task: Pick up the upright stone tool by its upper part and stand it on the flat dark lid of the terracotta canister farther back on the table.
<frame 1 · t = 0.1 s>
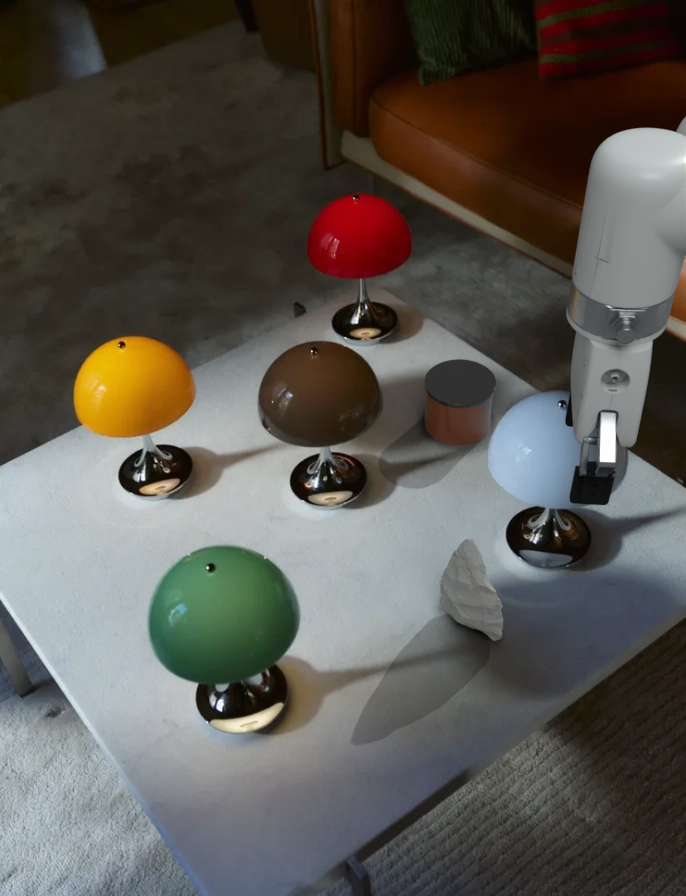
hand: (585, 462, 84), 30 cm above the table, tool pointing down, fingers open, 9 cm apart
stone tool: (469, 628, 109), on the table
canister: (457, 423, 133), on the table
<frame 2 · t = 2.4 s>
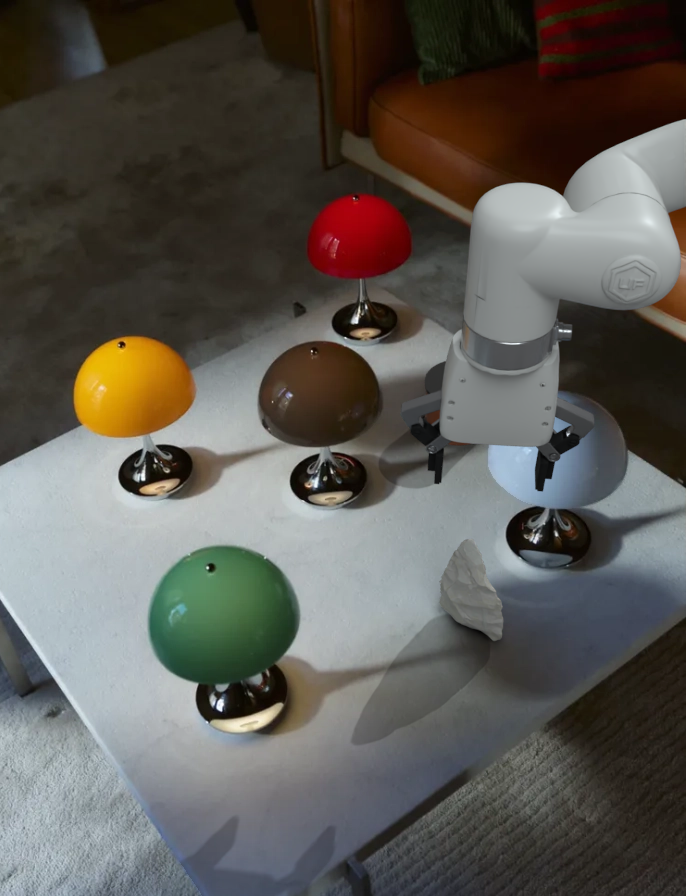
hand: (488, 477, 92), 24 cm above the table, tool pointing down, fingers open, 9 cm apart
nothing on the table moved.
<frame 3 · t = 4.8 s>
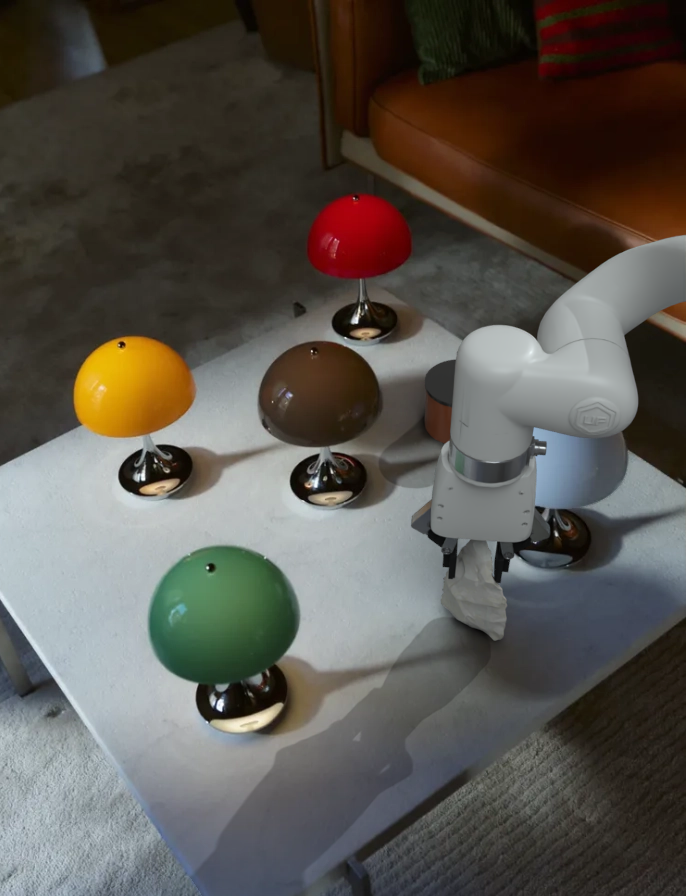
hand: (474, 569, 102), 10 cm above the table, tool pointing down, fingers closed on stone tool, 4 cm apart
stone tool: (469, 627, 109), on the table, touching gripper
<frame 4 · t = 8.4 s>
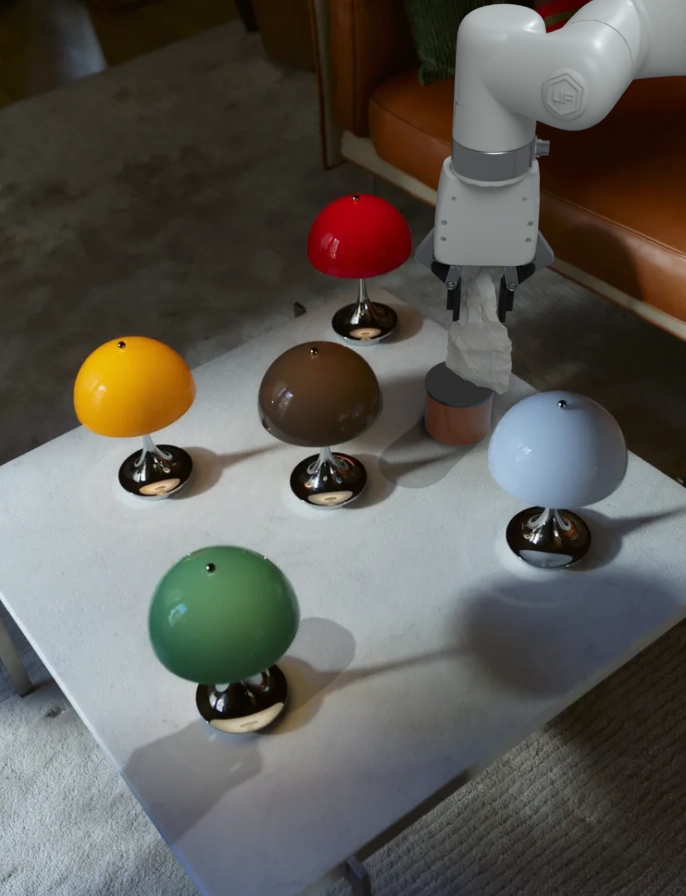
hand: (478, 313, 102), 29 cm above the table, tool pointing down, fingers closed on stone tool, 4 cm apart
stone tool: (474, 388, 109), point 19 cm above the table, touching gripper
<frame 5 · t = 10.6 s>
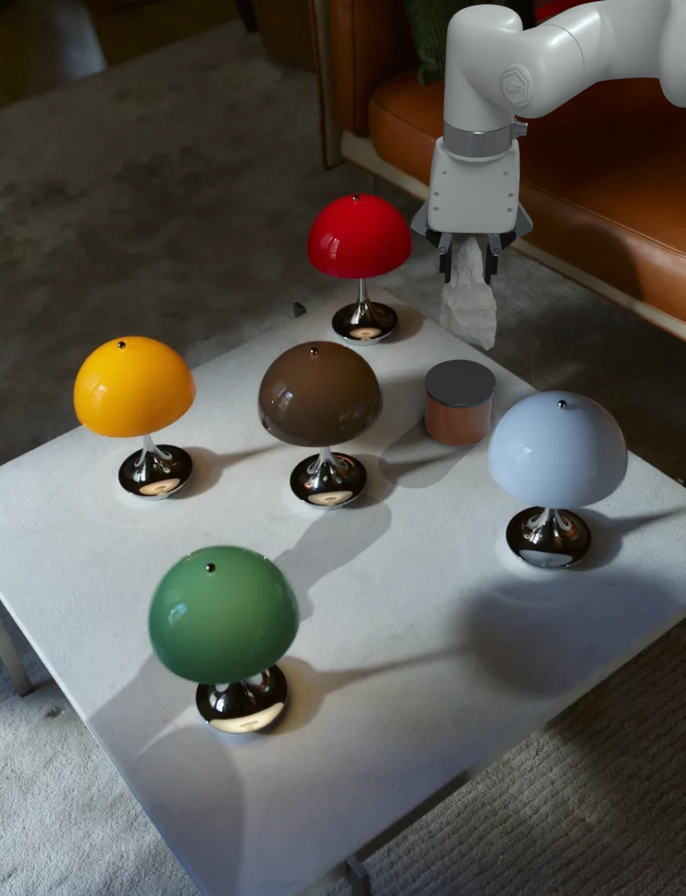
hand: (467, 276, 116), 24 cm above the table, tool pointing down, fingers closed on stone tool, 4 cm apart
stone tool: (465, 344, 122), point 14 cm above the table, touching gripper
when the fingers open (18 cm above the table, at t = 12.5 s): stone tool stays where it is, resting on canister.
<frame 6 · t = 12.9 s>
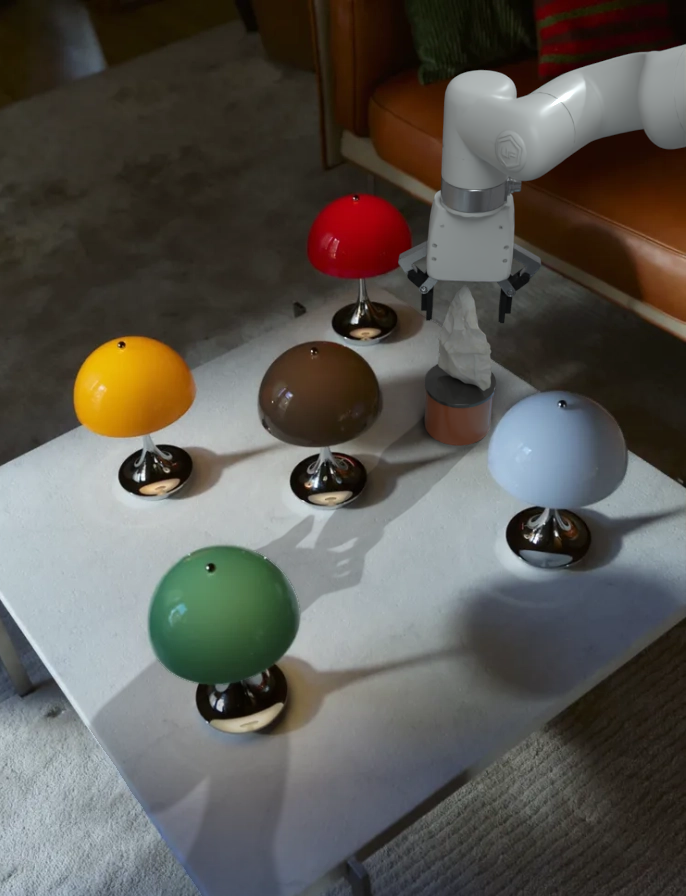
hand: (465, 315, 120), 18 cm above the table, tool pointing down, fingers open, 8 cm apart
stone tool: (463, 384, 127), point 7 cm above the table, touching canister
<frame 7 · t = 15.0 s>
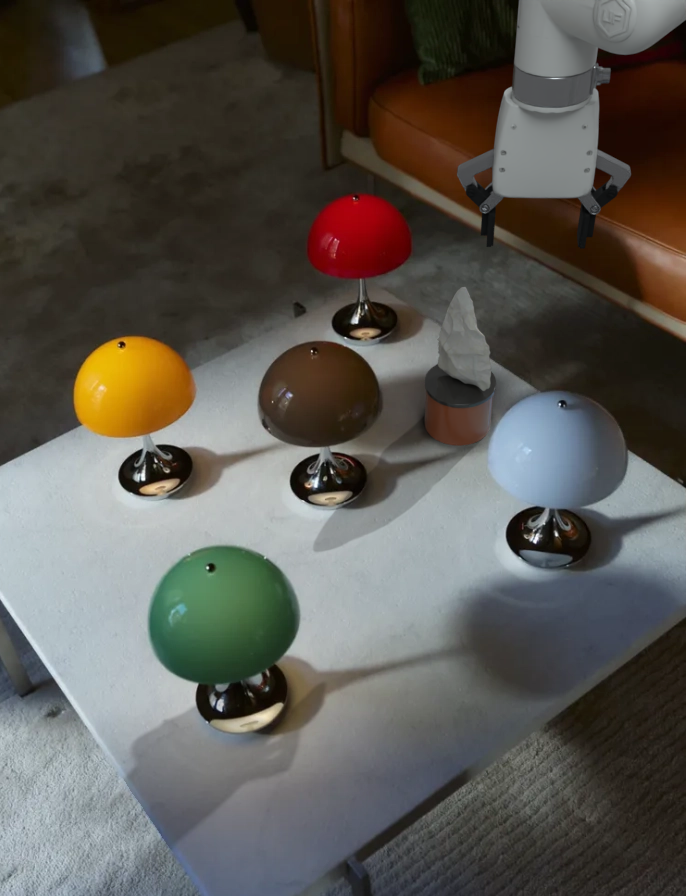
hand: (535, 241, 102), 34 cm above the table, tool pointing down, fingers open, 9 cm apart
nothing on the table moved.
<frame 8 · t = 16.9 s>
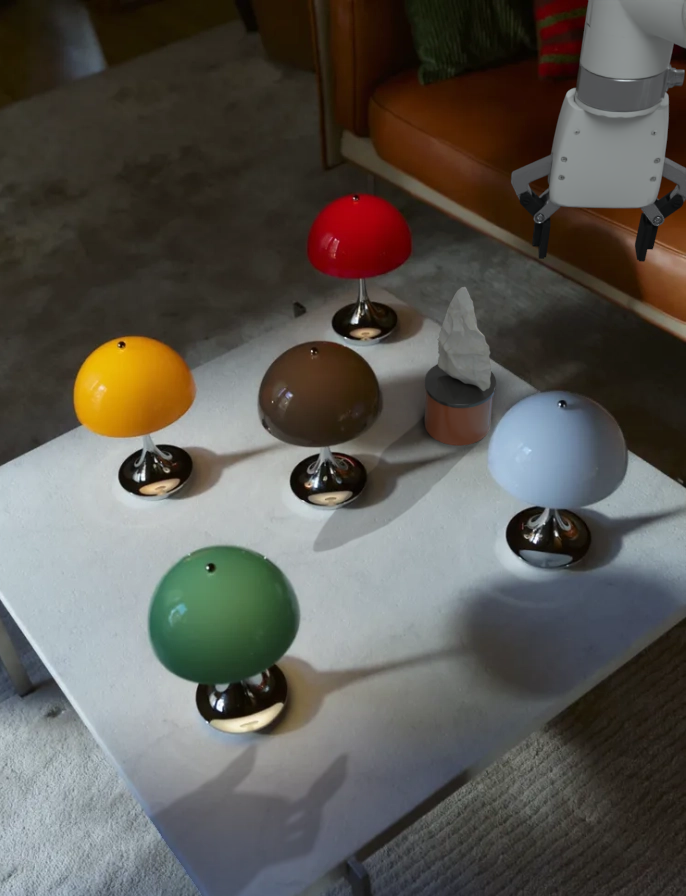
hand: (590, 252, 96), 36 cm above the table, tool pointing down, fingers open, 9 cm apart
nothing on the table moved.
at the end: stone tool inside the target area on the canister (0.6 cm from its centre), point 7.4 cm above the canister's base; stone tool tilted 0°; the gripper is holding nothing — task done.
